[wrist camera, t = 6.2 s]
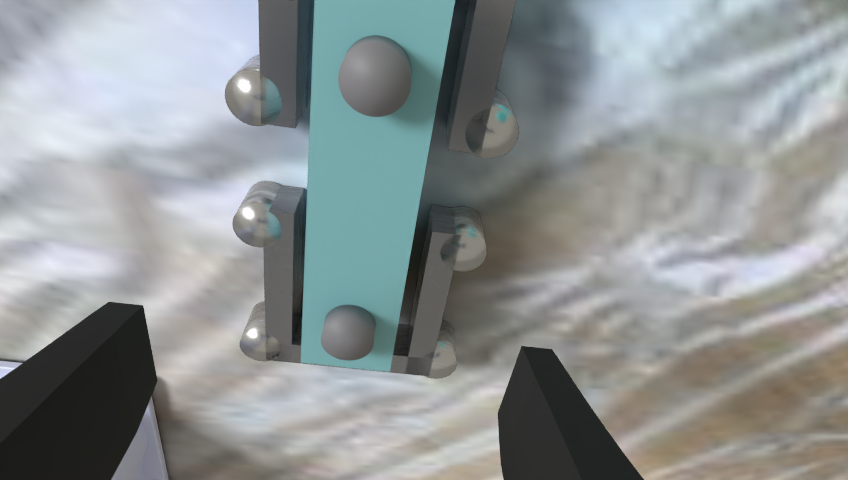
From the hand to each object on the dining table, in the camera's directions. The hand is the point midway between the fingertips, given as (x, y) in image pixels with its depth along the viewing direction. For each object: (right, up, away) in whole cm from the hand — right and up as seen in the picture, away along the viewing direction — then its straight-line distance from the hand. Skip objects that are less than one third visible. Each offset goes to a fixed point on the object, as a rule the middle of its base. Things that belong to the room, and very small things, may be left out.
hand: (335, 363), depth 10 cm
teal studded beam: (0, +6, +8) cm, 10 cm away
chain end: (-1, +1, +10) cm, 11 cm away
